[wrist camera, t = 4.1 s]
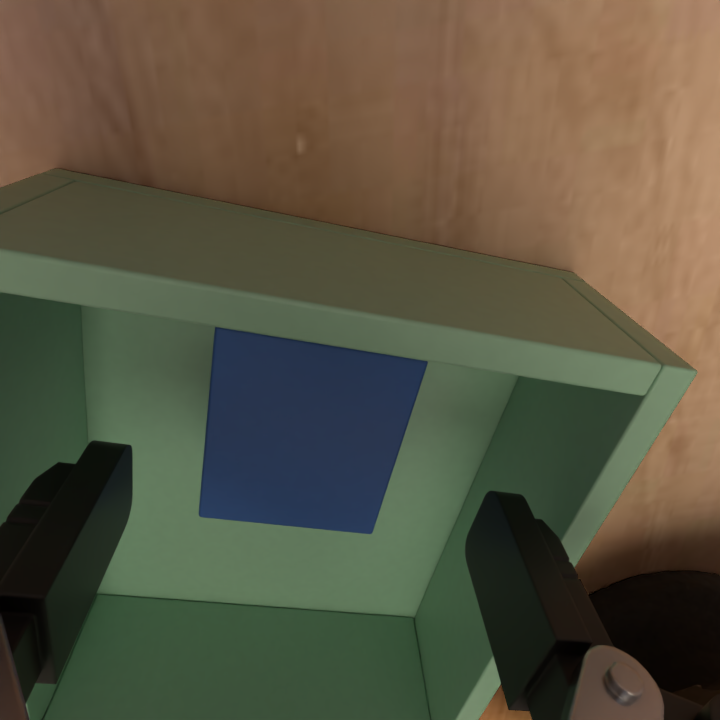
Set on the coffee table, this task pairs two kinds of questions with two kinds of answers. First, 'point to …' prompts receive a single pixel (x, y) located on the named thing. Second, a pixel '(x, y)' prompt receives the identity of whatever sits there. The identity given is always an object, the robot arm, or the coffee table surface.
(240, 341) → the block
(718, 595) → the pot
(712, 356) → the coffee table surface
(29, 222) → the box
